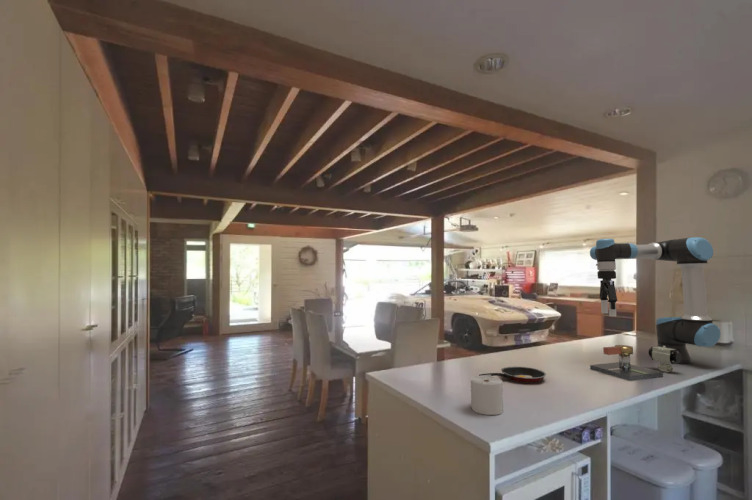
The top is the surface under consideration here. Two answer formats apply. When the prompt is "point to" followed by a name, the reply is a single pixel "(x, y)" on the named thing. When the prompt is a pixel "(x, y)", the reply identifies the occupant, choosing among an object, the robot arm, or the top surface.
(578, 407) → the top surface
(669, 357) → the pneumatic valve
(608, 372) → the grey plate with post
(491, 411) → the toilet tissue
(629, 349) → the scoop with pink handle
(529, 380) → the frying pan
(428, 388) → the top surface
